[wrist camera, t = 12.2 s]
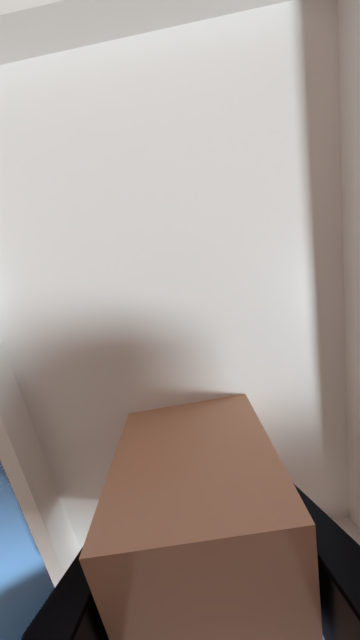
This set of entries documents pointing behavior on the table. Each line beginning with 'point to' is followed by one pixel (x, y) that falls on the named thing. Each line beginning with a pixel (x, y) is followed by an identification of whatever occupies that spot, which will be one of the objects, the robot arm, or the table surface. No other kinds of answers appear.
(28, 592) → the table surface
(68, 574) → the robot arm
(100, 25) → the parts tray
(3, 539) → the table surface
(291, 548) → the matte tan cube
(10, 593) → the table surface
